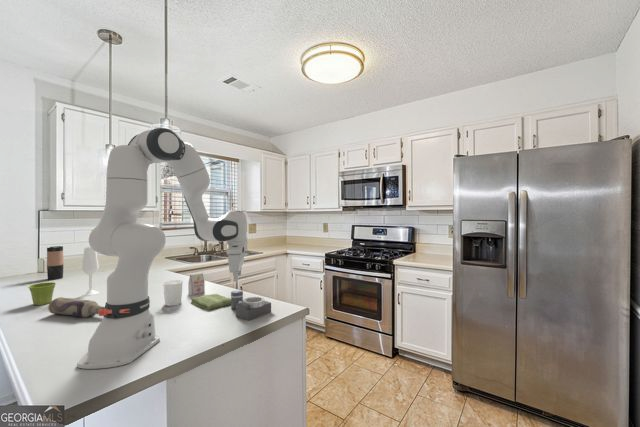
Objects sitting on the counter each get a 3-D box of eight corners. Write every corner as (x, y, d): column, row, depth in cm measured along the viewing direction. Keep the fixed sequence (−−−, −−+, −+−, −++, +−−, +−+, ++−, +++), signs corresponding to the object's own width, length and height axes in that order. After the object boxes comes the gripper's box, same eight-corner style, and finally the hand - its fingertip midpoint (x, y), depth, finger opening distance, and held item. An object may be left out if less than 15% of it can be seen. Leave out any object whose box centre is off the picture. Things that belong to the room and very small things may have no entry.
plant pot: (57, 303, 134) (57, 284, 134) (28, 308, 127) (28, 288, 127) (55, 299, 140) (55, 281, 140) (27, 303, 134) (27, 284, 133)
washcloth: (215, 297, 145) (215, 290, 145) (233, 305, 133) (233, 298, 133) (188, 303, 135) (188, 296, 135) (206, 312, 123) (206, 305, 123)
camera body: (248, 320, 113) (248, 305, 112) (235, 316, 118) (235, 300, 118) (271, 312, 122) (271, 297, 122) (258, 308, 127) (258, 294, 127)
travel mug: (65, 278, 183) (65, 246, 183) (49, 280, 177) (49, 248, 176) (61, 276, 187) (60, 245, 187) (45, 279, 181) (44, 247, 180)
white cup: (174, 307, 129) (174, 284, 129) (159, 305, 130) (159, 283, 130) (186, 301, 136) (186, 280, 136) (171, 300, 138) (171, 279, 138)
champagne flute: (102, 292, 152) (101, 246, 152) (90, 295, 146) (90, 248, 145) (90, 291, 153) (90, 246, 153) (78, 295, 146) (78, 248, 146)
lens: (242, 309, 125) (242, 293, 125) (230, 310, 125) (229, 293, 125) (243, 305, 131) (243, 289, 130) (231, 306, 130) (231, 290, 130)
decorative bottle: (46, 316, 118) (46, 300, 118) (66, 310, 125) (66, 295, 125) (96, 322, 112) (96, 304, 112) (114, 315, 119) (114, 299, 119)
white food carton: (188, 294, 149) (188, 274, 149) (201, 291, 154) (201, 272, 154) (191, 295, 146) (191, 275, 146) (204, 292, 151) (204, 273, 151)
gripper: (233, 244, 137) (233, 272, 138) (225, 250, 117) (226, 284, 117) (247, 243, 138) (247, 272, 139) (241, 250, 118) (242, 284, 118)
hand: (237, 278), depth 128 cm, fingers open, 8 cm apart
